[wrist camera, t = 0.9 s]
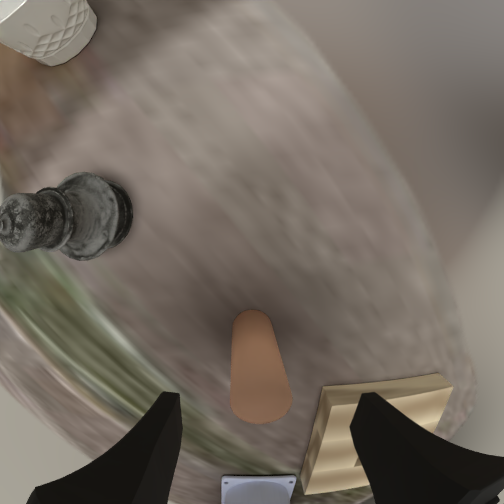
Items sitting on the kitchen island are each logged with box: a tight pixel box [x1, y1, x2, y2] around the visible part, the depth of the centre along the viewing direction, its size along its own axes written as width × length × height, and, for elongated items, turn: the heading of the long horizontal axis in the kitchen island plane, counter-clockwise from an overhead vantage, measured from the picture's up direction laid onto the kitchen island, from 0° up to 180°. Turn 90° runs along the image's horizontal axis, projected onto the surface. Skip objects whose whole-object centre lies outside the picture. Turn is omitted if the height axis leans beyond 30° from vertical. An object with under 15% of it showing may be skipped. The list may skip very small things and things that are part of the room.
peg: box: [230, 310, 292, 424], centre depth 18 cm, size 3×3×10 cm
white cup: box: [0, 0, 97, 66], centre depth 13 cm, size 8×8×10 cm
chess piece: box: [0, 172, 133, 261], centre depth 15 cm, size 6×6×12 cm
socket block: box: [300, 373, 453, 495], centre depth 23 cm, size 13×13×3 cm
